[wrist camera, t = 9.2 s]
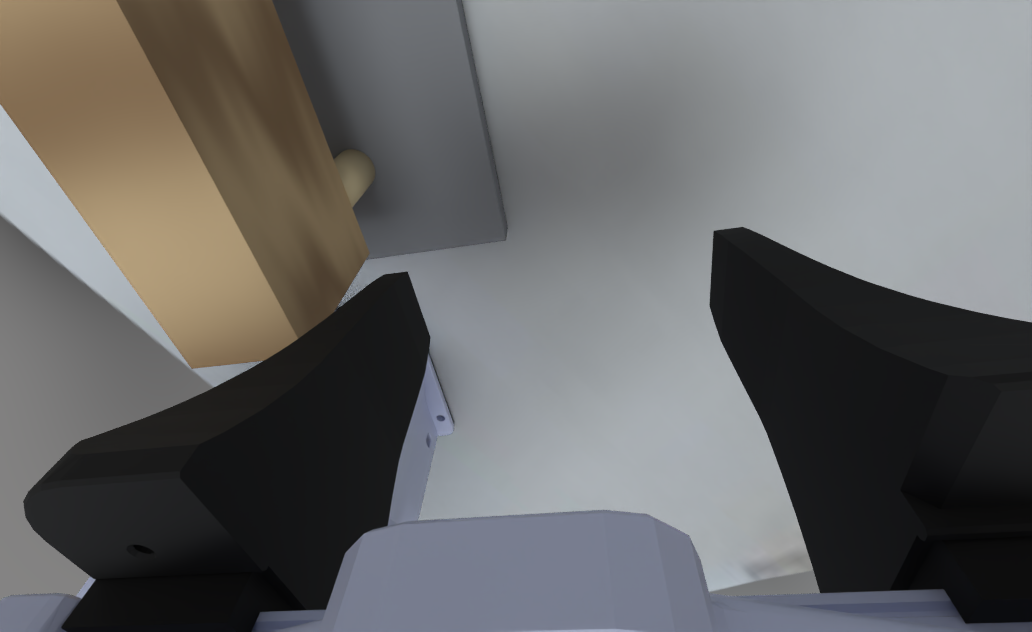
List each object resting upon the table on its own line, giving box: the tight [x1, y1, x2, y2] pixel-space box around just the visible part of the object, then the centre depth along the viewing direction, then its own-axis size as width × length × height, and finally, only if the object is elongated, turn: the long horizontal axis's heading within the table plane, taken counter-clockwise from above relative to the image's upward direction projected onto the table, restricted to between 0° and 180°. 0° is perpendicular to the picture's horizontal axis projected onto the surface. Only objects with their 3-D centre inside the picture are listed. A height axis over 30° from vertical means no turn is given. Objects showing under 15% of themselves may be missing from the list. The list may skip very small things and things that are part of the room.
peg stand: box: [272, 0, 508, 260], centre depth 17 cm, size 18×13×4 cm
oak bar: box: [0, 0, 370, 369], centre depth 13 cm, size 14×4×6 cm, turn 10°
